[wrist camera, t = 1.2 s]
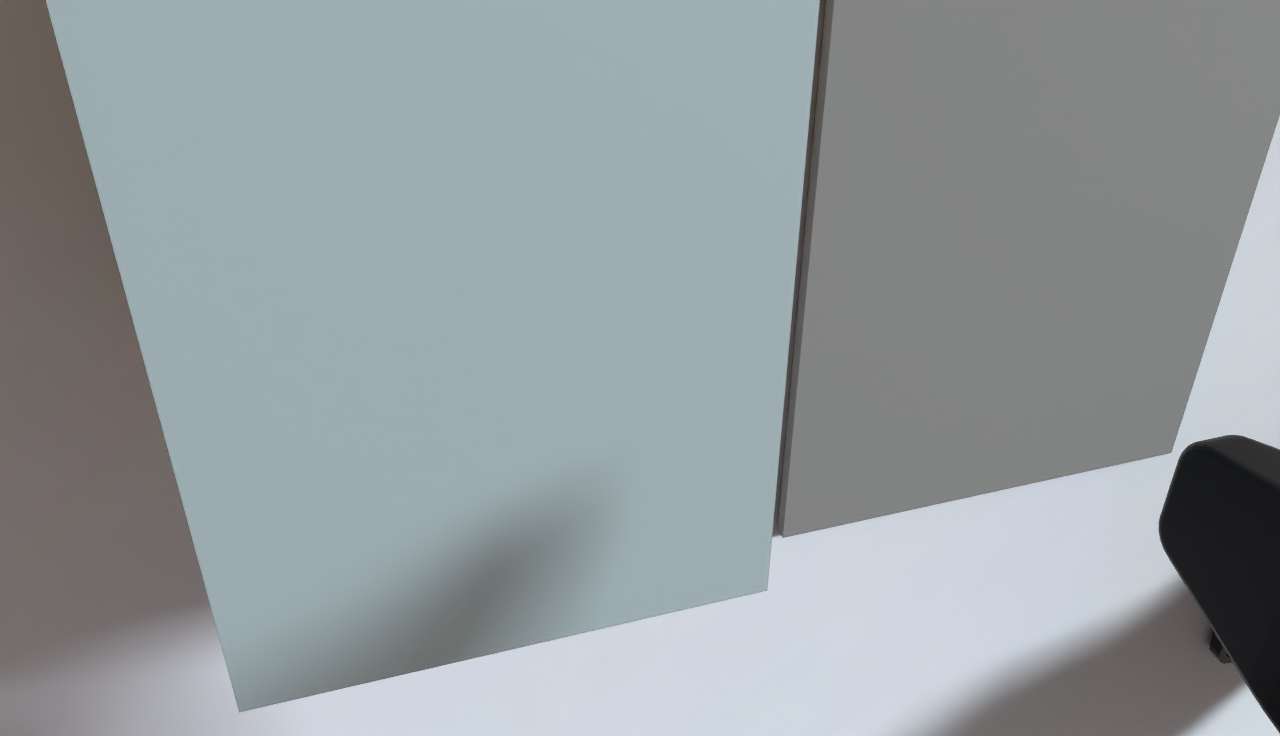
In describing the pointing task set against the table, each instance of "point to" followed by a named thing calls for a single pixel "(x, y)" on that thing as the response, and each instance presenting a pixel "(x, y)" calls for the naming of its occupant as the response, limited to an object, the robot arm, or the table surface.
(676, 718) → the table surface
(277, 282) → the lid
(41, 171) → the table surface
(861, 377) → the felt pad
